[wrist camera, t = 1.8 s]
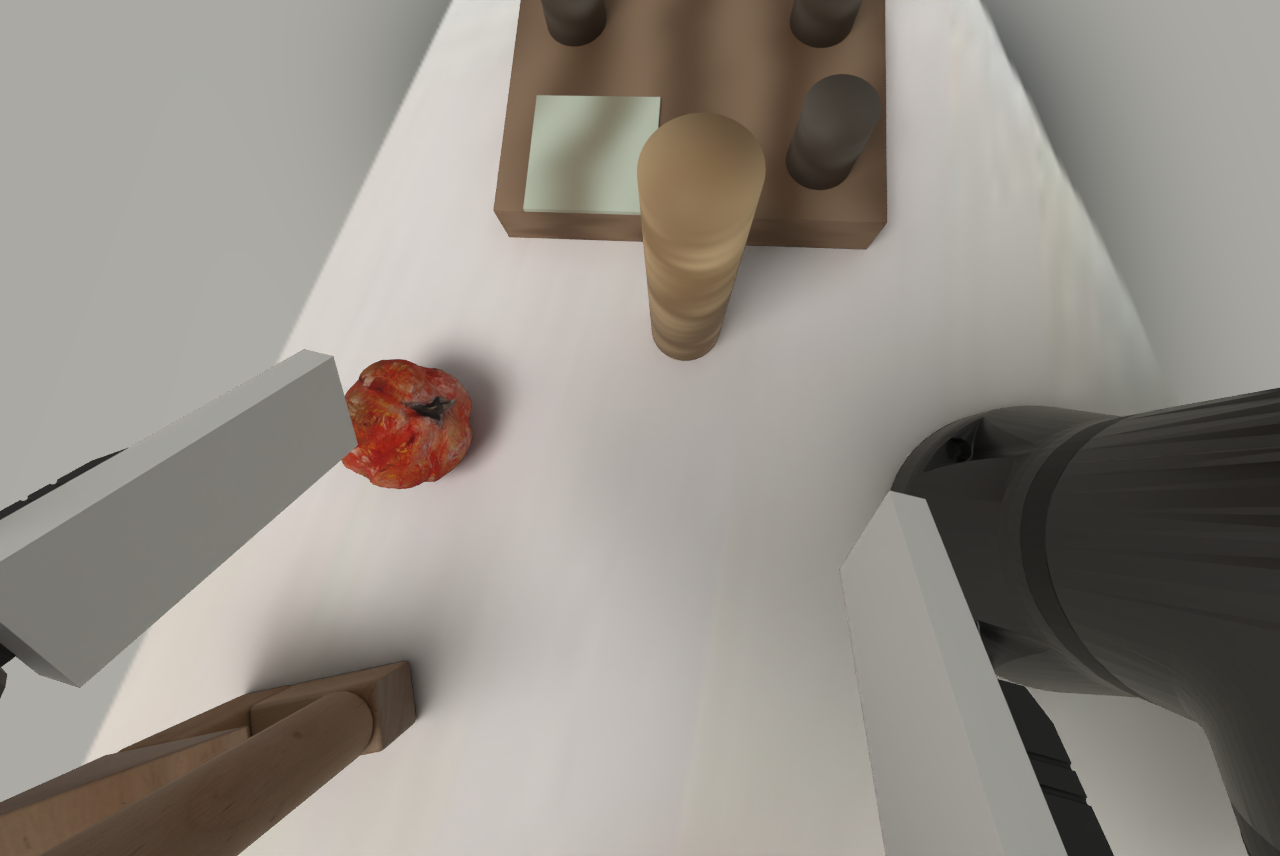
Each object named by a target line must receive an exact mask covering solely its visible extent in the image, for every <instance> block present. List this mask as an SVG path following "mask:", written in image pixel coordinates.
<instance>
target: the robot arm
mask: <svg viewBox="0 0 1280 856" xmlns="http://www.w3.org/2000/svg"><path fill="white" fill-rule="evenodd" d="M357 445H358V443H357V439H356V436H355V432H354V429H353V425H352V422H351V418H350V414H349V411H348V407H347V404H346V400H345V396H344V393H343V389H342V386H341V382H340V378H339V375H338V371H337V368H336V364H335V361H334V357H333V356H330V355H326V354H322V353H318V352H314V351H309V350H305V349H304V350H302V351H300V352H298V353H297V354H295V355H293V356H291V357H289V358H288V359H286V360H284V361H282V362H281V363H279V364H277V365H275V366H273V367H272V368H270V369H268V370H266V371H265V372H263V373H261V374H259V375H257V376H256V377H254V378H252V379H250V380H249V381H247V382H245V383H243V384H241V385H240V386H238V387H236V388H235V389H233V390H231V391H229V392H227V393H225V394H224V395H222V396H220V397H219V398H217V399H215V400H213V401H211V402H209V403H208V404H206V405H204V406H202V407H201V408H199V409H197V410H195V411H194V412H192V413H190V414H188V415H186V416H185V417H183V418H181V419H179V420H177V421H176V422H174V423H172V424H170V425H169V426H167V427H165V428H163V429H161V430H160V431H158V432H156V433H154V434H152V435H151V436H149V437H147V438H145V439H144V440H142V441H140V442H138V443H137V444H135V445H133V446H131V447H129V448H126V449H124V450H121V451H118V452H115V453H113V454H109V455H107V456H104V457H101V458H98V459H95V460H93V461H90V462H89V463H87V464H85V465H83V466H81V467H80V468H78V469H76V470H74V471H72V472H70V473H69V474H67V475H65V476H63V477H61V478H60V479H58V480H57V483H56V484H54V485H52V484H49V485H47V486H45V487H43V488H42V489H40V490H38V491H36V492H34V493H32V494H30V495H29V496H28V499H27V500H25V501H21V500H20V501H18V502H16V503H14V504H12V505H10V506H9V507H7V508H5V509H3V510H1V511H0V698H1V695H2V693H3V691H4V688H5V685H6V678H7V673H6V672H5V671H4V670H3V669H2V668H1V667H2V666H3V665H4V664H6V663H7V662H8V661H10V660H11V659H13V658H14V657H15V656H16V657H17V658H19V659H20V660H21V661H22V662H24V663H25V664H26V665H27V666H29V667H30V668H31V669H32V670H34V671H35V672H36V673H38V674H39V675H41V676H45V677H48V678H51V679H54V680H57V681H60V682H63V683H66V684H69V685H73V686H76V687H79V688H80V687H81V686H83V685H84V684H85V683H86V682H87V681H88V680H90V679H91V678H92V677H93V676H94V675H95V674H96V673H97V672H99V671H100V670H101V669H102V668H103V667H104V666H105V665H107V664H108V663H109V662H110V661H111V660H112V659H114V658H115V657H116V656H117V655H118V654H119V653H120V652H121V651H123V650H124V649H125V648H126V647H127V646H128V645H130V644H131V643H132V642H133V641H134V640H135V639H137V637H139V636H140V635H141V634H142V633H143V632H145V631H146V630H147V629H148V628H149V627H150V626H151V625H153V624H154V623H155V622H156V621H157V620H158V619H159V618H161V617H162V616H163V615H164V614H165V613H166V612H167V611H169V610H170V609H171V608H172V607H173V606H174V605H175V604H177V603H178V602H179V601H180V600H181V599H182V598H183V597H185V596H186V595H187V594H188V593H189V592H190V591H191V590H193V589H194V588H195V587H196V586H197V585H198V584H199V583H201V582H202V581H203V580H204V579H205V578H206V577H207V576H209V575H210V574H211V573H212V572H213V571H214V570H216V569H217V568H218V567H219V566H220V565H221V564H222V563H224V562H225V561H226V560H227V559H228V558H229V557H230V556H232V555H233V554H234V553H235V552H236V551H237V550H238V549H240V548H241V547H242V546H243V545H244V544H245V543H246V542H248V541H249V540H250V539H251V538H252V537H253V536H254V535H256V534H257V533H258V532H259V531H260V530H261V529H262V528H264V527H265V526H266V525H267V524H268V523H269V522H270V521H272V520H273V519H274V518H275V517H276V516H277V515H278V514H280V513H281V512H282V511H283V510H284V509H285V508H286V507H288V506H289V505H290V504H291V503H292V502H293V501H295V500H296V499H297V498H298V497H299V496H300V495H301V494H303V493H304V492H305V491H306V490H307V489H308V488H309V487H311V486H312V485H313V484H314V483H315V482H316V481H317V480H319V479H320V478H321V477H322V476H323V475H324V474H325V473H327V472H328V471H329V470H330V469H331V468H332V467H333V466H335V465H336V464H337V463H338V462H339V461H340V460H341V459H343V458H344V457H345V456H346V455H347V454H348V453H349V452H351V451H352V450H353V449H354V448H355V447H356V446H357ZM840 575H841V581H842V587H843V593H844V600H845V606H846V612H847V618H848V624H849V631H850V637H851V643H852V649H853V656H854V662H855V668H856V674H857V680H858V687H859V693H860V699H861V705H862V711H863V718H864V724H865V730H866V736H867V743H868V749H869V755H870V761H871V767H872V774H873V780H874V786H875V792H876V799H877V805H878V811H879V817H880V823H881V830H882V836H883V842H884V848H885V854H886V856H1114V855H1113V853H1112V850H1111V848H1110V846H1109V844H1108V842H1107V840H1106V837H1105V835H1104V833H1103V831H1102V829H1101V826H1100V824H1099V822H1098V820H1097V818H1096V816H1095V813H1094V811H1093V809H1092V807H1091V806H1089V805H1088V804H1087V803H1086V798H1087V796H1086V794H1085V792H1084V789H1083V787H1082V785H1081V783H1080V781H1079V779H1078V776H1077V774H1076V772H1075V771H1072V769H1071V767H1070V765H1071V761H1070V759H1069V757H1068V755H1067V752H1066V750H1065V748H1064V746H1063V744H1062V742H1061V739H1060V737H1059V735H1058V733H1057V731H1056V729H1055V726H1054V724H1053V723H1052V721H1051V720H1050V719H1049V717H1048V716H1047V715H1046V714H1045V712H1044V711H1043V710H1042V708H1041V707H1040V706H1039V704H1038V703H1037V702H1036V701H1035V699H1034V698H1033V697H1032V695H1031V694H1030V693H1029V691H1028V690H1027V689H1026V688H1025V687H1024V686H1021V685H1025V686H1028V687H1032V688H1036V689H1041V690H1046V691H1053V692H1065V693H1080V694H1096V695H1111V696H1127V697H1139V698H1141V699H1144V700H1146V701H1149V702H1151V703H1154V704H1156V705H1159V706H1161V707H1163V708H1165V709H1167V710H1170V711H1172V712H1174V713H1177V714H1179V715H1181V716H1184V717H1186V718H1188V719H1191V720H1193V721H1196V722H1197V723H1198V724H1199V725H1200V726H1201V727H1202V728H1203V730H1204V731H1205V733H1206V734H1207V737H1208V739H1209V741H1210V744H1211V747H1212V750H1213V753H1214V756H1215V759H1216V761H1217V764H1218V767H1219V770H1220V773H1221V776H1222V779H1223V782H1224V785H1225V788H1226V790H1227V793H1228V796H1229V799H1230V802H1231V805H1232V808H1233V811H1234V813H1235V816H1236V819H1237V822H1238V825H1239V828H1240V831H1241V836H1242V839H1243V842H1244V844H1245V847H1246V850H1247V853H1248V856H1280V388H1276V389H1270V390H1265V391H1260V392H1254V393H1248V394H1243V395H1237V396H1232V397H1227V398H1221V399H1215V400H1210V401H1204V402H1198V403H1193V404H1187V405H1182V406H1176V407H1171V408H1165V409H1160V410H1154V411H1150V412H1146V413H1141V414H1136V415H1130V416H1125V417H1120V416H1113V415H1106V414H1098V413H1091V412H1083V411H1076V410H1068V409H1061V408H1054V407H1044V406H1018V407H1008V408H1001V409H996V410H992V411H988V412H985V413H981V414H978V415H974V416H971V417H967V418H964V419H961V420H958V421H956V422H953V423H951V424H949V425H947V426H945V427H943V428H941V429H940V430H938V431H936V432H935V433H933V434H932V435H931V436H929V437H928V438H927V439H925V440H924V441H923V442H922V443H921V444H920V445H919V446H918V447H917V448H916V449H915V450H914V451H913V452H912V453H911V455H910V456H909V457H908V458H907V460H906V461H905V463H904V464H903V466H902V467H901V469H900V471H899V472H898V474H897V476H896V478H895V481H894V483H893V485H892V488H891V491H889V492H888V493H887V495H886V496H885V498H884V500H883V501H882V503H881V504H880V506H879V507H878V509H877V511H876V512H875V514H874V515H873V517H872V519H871V520H870V522H869V523H868V525H867V526H866V528H865V530H864V531H863V533H862V534H861V536H860V537H859V539H858V541H857V542H856V544H855V545H854V547H853V549H852V550H851V552H850V553H849V555H848V556H847V558H846V560H845V561H844V563H843V564H842V566H841V568H840ZM996 675H997V676H999V677H1002V678H1004V679H1006V680H1009V681H1012V682H1015V683H1018V684H1021V685H1017V684H1013V683H1010V682H1006V681H1002V680H998V679H997V677H996Z"/></svg>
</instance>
